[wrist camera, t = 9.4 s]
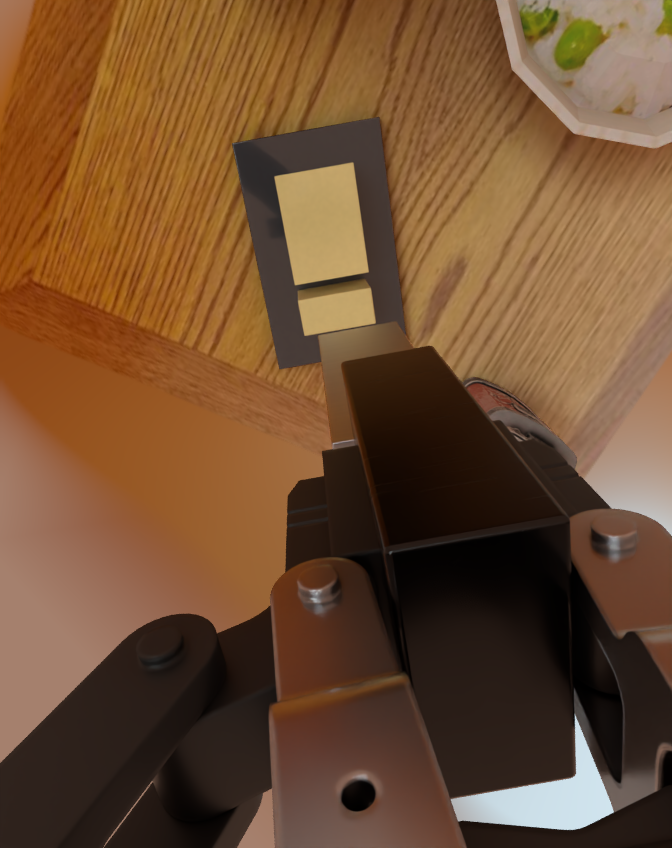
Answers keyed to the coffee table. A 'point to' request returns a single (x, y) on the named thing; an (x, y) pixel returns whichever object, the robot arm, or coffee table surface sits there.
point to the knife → (461, 562)
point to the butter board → (273, 232)
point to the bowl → (597, 64)
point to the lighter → (516, 416)
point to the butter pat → (336, 307)
